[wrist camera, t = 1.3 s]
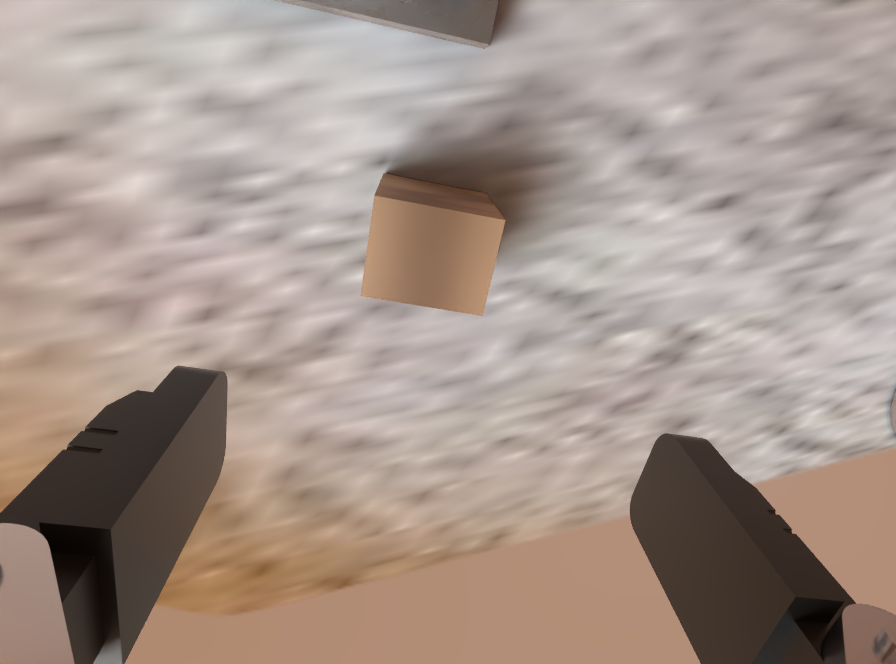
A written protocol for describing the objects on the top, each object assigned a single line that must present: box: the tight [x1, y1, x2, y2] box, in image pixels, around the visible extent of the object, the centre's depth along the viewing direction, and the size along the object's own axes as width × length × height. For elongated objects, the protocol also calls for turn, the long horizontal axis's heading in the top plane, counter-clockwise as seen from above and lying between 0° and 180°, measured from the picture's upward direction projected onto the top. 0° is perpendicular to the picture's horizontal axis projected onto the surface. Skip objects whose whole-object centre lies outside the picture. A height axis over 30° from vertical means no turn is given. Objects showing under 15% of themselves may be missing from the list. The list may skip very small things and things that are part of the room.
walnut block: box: [361, 173, 506, 316], centre depth 23 cm, size 5×4×6 cm
